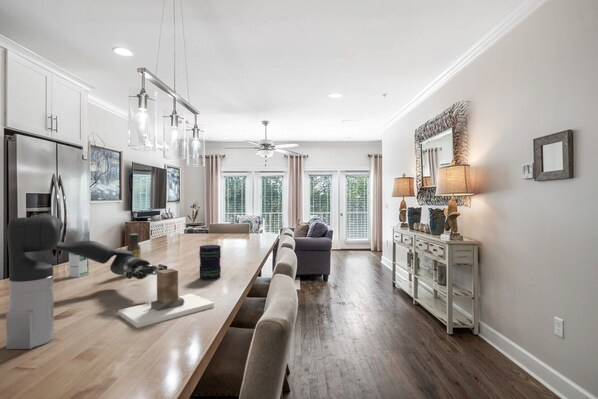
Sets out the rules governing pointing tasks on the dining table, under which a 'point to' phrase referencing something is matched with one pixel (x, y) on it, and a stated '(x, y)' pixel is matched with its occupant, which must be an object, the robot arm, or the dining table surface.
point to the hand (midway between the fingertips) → (154, 274)
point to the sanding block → (167, 290)
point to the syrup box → (78, 265)
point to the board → (163, 311)
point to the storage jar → (210, 262)
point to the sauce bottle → (134, 245)
